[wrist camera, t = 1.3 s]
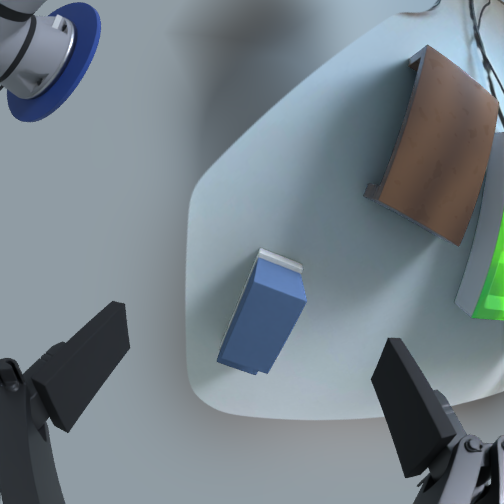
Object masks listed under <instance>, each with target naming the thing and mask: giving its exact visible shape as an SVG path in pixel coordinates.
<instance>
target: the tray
mask: <svg viewBox="0 0 504 504" xmlns="http://www.w3.org/2000/svg"><path fill="white" fill-rule="evenodd" d="M454 303H455V304H456V305H458V306H459V307H460V308H461V309H462V310H463V311H464V312H466V313H467V314H468V315H469V316H470V317H471V318H478V319H491V320H504V132H499V133H494V138H493V143H492V147H491V152H490V156H489V160H488V164H487V170H486V178H485V186H484V192H483V198H482V204H481V210H480V215H479V219H478V224H477V229H476V233H475V237H474V241H473V245H472V249H471V252H470V256H469V259H468V263H467V266H466V269H465V272H464V275H463V279H462V282H461V284H460V287H459V290H458V293H457V296H456V298H455V301H454Z"/></svg>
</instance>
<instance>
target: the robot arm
mask: <svg viewBox="0 0 504 504" xmlns="http://www.w3.org/2000/svg"><path fill="white" fill-rule="evenodd" d="M45 1H46V0H0V84H1V86H0V90H1V89H2V88H3V87H5V88H6V89H8V90H9V91H10V92H12V93H13V94H14V95H16V96H17V97H19V98H22V99H28V100H32V99H36V98H38V97H40V96H42V95H43V94H45V93H46V92H47V91H48V90H49V89H50V88H51V87H52V86H53V85H54V84H55V83H56V82H57V80H58V79H59V78H60V76H61V75H62V74H63V72H64V71H65V69H66V67H67V65H68V64H69V62H70V60H71V58H72V55H73V53H74V50H75V47H76V43H77V36H78V32H77V27H76V25H75V24H74V23H73V22H72V21H70V20H68V19H67V18H64V17H62V16H60V15H58V14H57V16H56V17H54V16H35V15H33V14H34V13H35V12H36V11H37V10H38V8H39V7H40V6H41V5H42V4H43V3H44V2H45ZM129 349H130V344H129V336H128V328H127V320H126V310H125V304H124V303H119V302H115V301H112V302H111V303H110V304H108V305H107V306H106V307H105V308H104V309H103V310H102V311H101V312H99V313H98V314H97V315H96V316H95V317H94V318H93V319H91V321H89V322H88V323H87V324H86V325H85V326H84V327H83V328H82V329H80V331H78V332H77V333H76V334H75V335H74V336H73V337H72V338H71V339H70V340H69V341H68V342H66V343H65V342H60V343H58V344H56V345H54V346H52V347H51V348H50V349H49V350H48V351H47V352H46V354H44V355H42V356H41V359H38V360H37V361H36V362H35V363H34V364H33V365H32V366H31V367H30V368H29V369H28V370H27V371H26V372H25V373H24V374H23V375H22V372H21V370H20V368H19V365H18V363H17V362H16V361H15V360H13V359H11V358H4V359H0V493H1V495H2V501H3V504H65V501H64V498H63V494H62V491H61V487H60V484H59V481H58V476H57V472H56V468H55V463H54V459H53V454H52V448H51V444H50V437H49V430H48V425H47V423H46V421H47V419H48V418H49V417H50V419H51V421H52V422H53V424H54V426H56V427H58V428H60V429H61V430H63V431H65V432H67V433H69V431H70V430H71V428H72V427H73V425H74V424H75V423H76V421H77V420H78V418H79V417H80V415H81V414H82V413H83V411H84V410H85V408H86V407H87V405H88V404H89V403H90V401H91V400H92V398H93V397H94V396H95V394H96V393H97V392H98V390H99V389H100V388H101V386H102V385H103V383H104V382H105V381H106V379H107V378H108V377H109V375H110V374H111V373H112V371H113V370H114V369H115V367H116V366H117V365H118V363H119V362H120V361H121V359H122V358H123V356H124V355H125V354H126V353H127V351H128V350H129ZM371 381H372V384H373V386H374V389H375V391H376V394H377V397H378V399H379V402H380V405H381V407H382V410H383V413H384V416H385V418H386V421H387V424H388V427H389V430H390V433H391V436H392V439H393V442H394V445H395V448H396V451H397V454H398V457H399V460H400V463H401V466H402V470H403V473H404V476H405V478H409V477H413V476H417V475H421V474H422V472H424V471H425V470H426V469H427V468H429V471H430V473H429V474H428V475H427V476H426V477H425V478H424V479H423V480H422V481H421V482H420V483H419V484H418V485H417V486H418V487H419V486H420V485H421V484H422V483H423V485H422V487H421V489H420V491H419V493H418V495H417V497H416V499H415V501H414V503H413V504H504V435H502V436H500V437H499V438H498V439H497V440H496V442H495V443H482V441H481V440H480V439H479V438H478V437H477V436H475V435H467V434H466V432H465V430H464V429H463V427H462V425H461V423H460V421H459V420H458V418H457V416H456V414H455V413H453V409H452V407H451V406H450V404H449V402H448V401H447V399H446V397H445V396H444V395H443V394H442V393H440V392H439V391H438V390H432V388H431V386H430V384H429V383H428V381H427V379H426V378H425V376H424V374H423V373H422V371H421V370H420V368H419V366H418V365H417V363H416V361H415V360H414V358H413V357H412V355H411V354H410V352H409V350H408V349H407V347H406V346H405V344H404V343H403V341H402V340H401V338H388V339H387V342H386V344H385V347H384V349H383V352H382V354H381V357H380V359H379V362H378V364H377V366H376V369H375V371H374V373H373V376H372V378H371ZM489 479H491V484H490V485H488V480H489Z"/></svg>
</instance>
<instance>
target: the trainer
mask: <svg viewBox="0 0 504 504" xmlns="http://www.w3.org/2000/svg"><path fill="white" fill-rule="evenodd" d="M302 272H303V267H302V264H301V263H298V262H295V261H293V260H290V259H288V258H285V257H283V256H280V255H278V254H275V253H273V252H270V251H268V250H265V249H262V248H260V249H259V252H258V254H257V257H256V259H255V261H254V264H253V266H252V269H251V271H250V274H249V276H248V279H247V281H246V283H245V286H244V288H243V291H242V293H241V296H240V298H239V301H238V303H237V305H236V308H235V310H234V313H233V315H232V318H231V320H230V322H229V325H228V327H227V330H226V332H225V335H224V337H223V339H222V342H221V345H220V348H219V350H220V352H219V355H218V358H217V362H219V363H222V364H224V365H227V366H230V367H233V368H236V369H239V370H241V371H244V372H247V373H250V374H253V375H256V374H257V372H258V371H260V372H263V373H266V374H268V372H269V371H270V369H271V367H272V365H273V364H274V362H275V360H276V358H277V357H278V355H279V353H280V351H281V349H282V348H283V346H284V344H285V342H286V340H287V338H288V337H289V335H290V333H291V331H292V329H293V327H294V325H295V324H296V322H297V320H298V318H299V316H300V314H301V312H302V310H303V308H304V306H305V304H306V302H307V299H306V295H305V290H304V286H303V282H302V277H301V274H302Z"/></svg>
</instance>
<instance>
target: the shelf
mask: <svg viewBox="0 0 504 504" xmlns="http://www.w3.org/2000/svg"><path fill="white" fill-rule="evenodd" d="M408 67H410V68H411V69H413V70H415V71H416V72H417V75H416V79H415V83H414V87H413V90H412V94H411V97H410V101H409V104H408V107H407V110H406V114H405V117H404V120H403V123H402V126H401V129H400V132H399V135H398V138H397V141H396V144H395V147H394V150H393V152H392V155H391V158H390V161H389V163H388V166H387V169H386V171H385V174H384V177H383V179H382V182H381V184H380V185H375V184H368V186H367V188H366V191H365V193H364V195H363V196H364V197H366V198H368V199H370V200H372V201H374V202H376V203H378V204H380V205H382V206H384V207H386V208H388V209H389V210H391V211H393V212H395V213H397V214H399V215H401V216H403V217H404V218H406V219H408V220H410V221H412V222H413V223H415V224H417V225H419V226H420V227H422V228H424V229H426V230H427V231H429V232H431V233H433V234H434V235H436V236H438V237H440V238H442V239H444V240H446V241H448V242H450V243H452V244H454V245H456V246H458V247H459V246H460V243H461V241H462V239H463V236H464V234H465V231H466V229H467V226H468V224H469V221H470V218H471V216H472V213H473V210H474V207H475V204H476V201H477V198H478V195H479V192H480V189H481V186H482V182H483V179H484V175H485V172H486V168H487V164H488V160H489V156H490V152H491V147H492V143H493V138H494V133H495V127H496V122H497V115H498V108H499V102H498V101H497V100H496V99H495V98H494V97H493V96H492V95H491V94H490V93H489V92H488V91H487V90H486V89H484V88H483V87H482V86H481V85H480V84H479V83H478V82H477V81H475V80H474V79H473V78H472V77H471V76H469V75H468V74H467V73H466V72H465V71H463V70H462V69H461V68H460V67H458V66H457V65H456V64H454V63H453V62H452V61H450V60H449V59H448V58H446V57H445V56H443V55H442V54H441V53H439V52H438V51H436V50H435V49H433V48H432V47H430V46H429V45H426V46H425V47H424V48H423V49H421V50H420V51H419V52H417V53H416V54H415V55H413V56H412V57H411V58H410V61H409V65H408Z"/></svg>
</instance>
